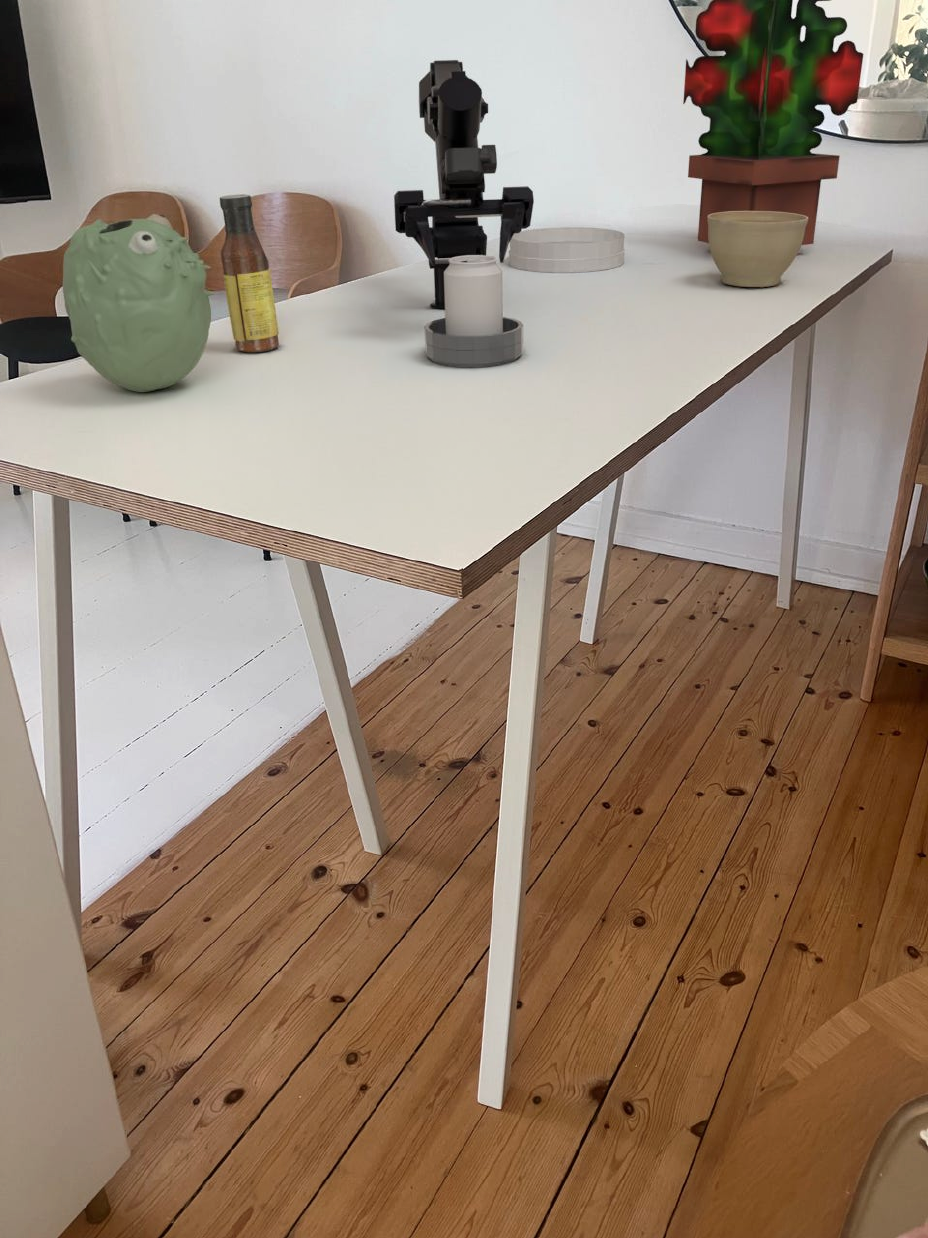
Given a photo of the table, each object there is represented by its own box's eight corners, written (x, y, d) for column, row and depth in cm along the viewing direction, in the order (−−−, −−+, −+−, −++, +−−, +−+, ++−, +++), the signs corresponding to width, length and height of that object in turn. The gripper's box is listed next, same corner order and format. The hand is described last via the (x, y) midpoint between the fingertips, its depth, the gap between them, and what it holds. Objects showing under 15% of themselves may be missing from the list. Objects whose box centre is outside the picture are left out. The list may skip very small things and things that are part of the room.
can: (457, 343, 144) (455, 251, 139) (510, 346, 142) (509, 253, 137) (438, 356, 138) (434, 260, 133) (492, 360, 136) (491, 262, 130)
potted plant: (673, 250, 214) (690, -9, 193) (762, 240, 222) (787, -9, 201) (743, 265, 196) (770, -18, 175) (836, 255, 204) (872, -18, 183)
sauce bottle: (288, 344, 149) (272, 192, 139) (266, 355, 143) (248, 198, 134) (246, 342, 151) (228, 192, 141) (224, 352, 145) (203, 197, 136)
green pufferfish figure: (120, 368, 139) (91, 205, 129) (249, 376, 134) (229, 207, 124) (44, 401, 126) (6, 223, 116) (184, 412, 120) (156, 226, 111)
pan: (408, 362, 138) (406, 331, 136) (455, 341, 148) (454, 312, 146) (495, 372, 133) (495, 340, 131) (538, 349, 142) (539, 319, 141)
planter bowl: (795, 294, 171) (804, 223, 166) (695, 290, 176) (700, 220, 171) (804, 276, 185) (812, 210, 180) (710, 273, 190) (715, 208, 185)
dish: (643, 257, 207) (644, 230, 204) (592, 276, 190) (593, 246, 188) (543, 250, 217) (543, 224, 215) (487, 267, 201) (486, 239, 199)
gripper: (390, 124, 138) (397, 225, 134) (532, 120, 140) (543, 219, 135) (392, 183, 149) (398, 278, 144) (524, 179, 150) (534, 273, 145)
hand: (467, 261), depth 142 cm, fingers open, 9 cm apart
